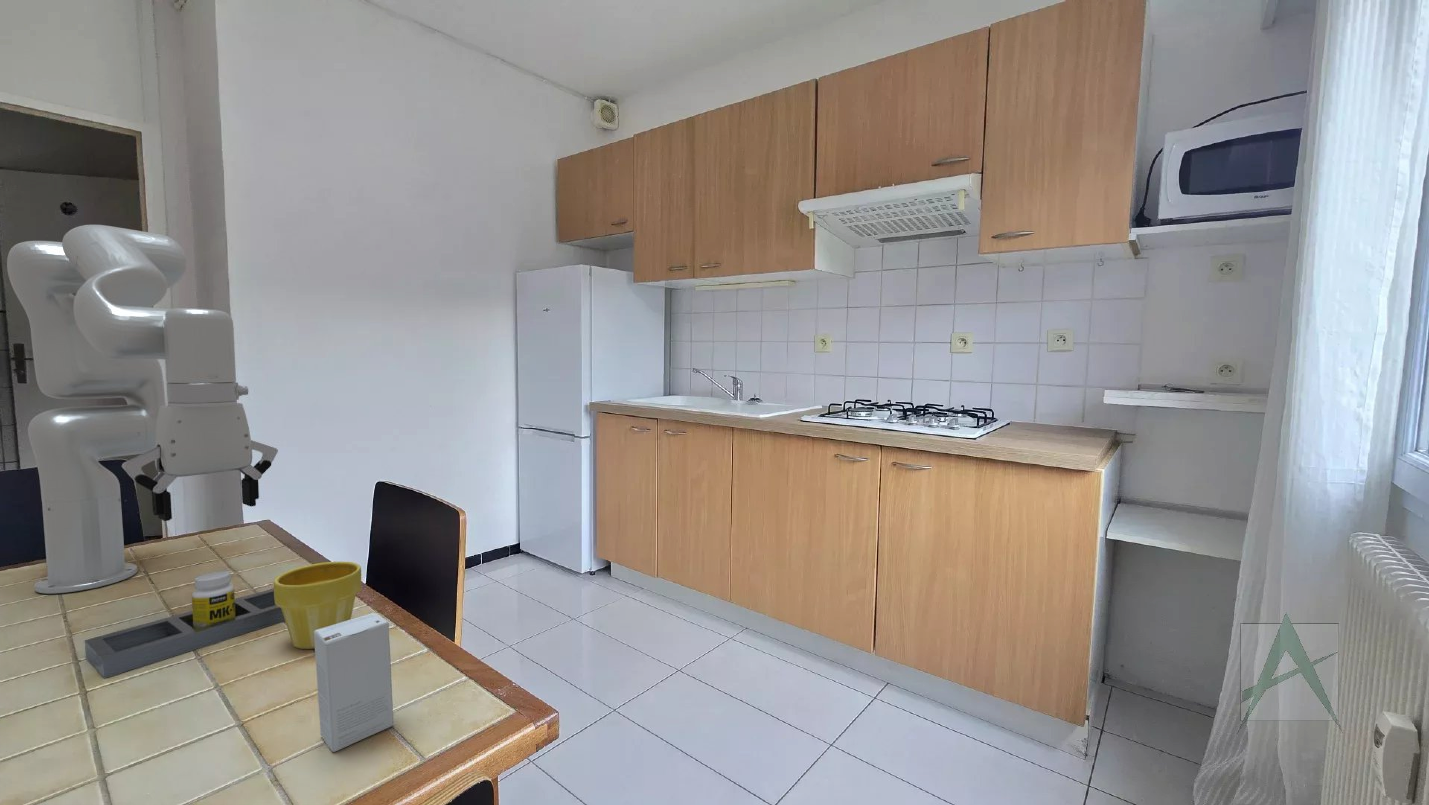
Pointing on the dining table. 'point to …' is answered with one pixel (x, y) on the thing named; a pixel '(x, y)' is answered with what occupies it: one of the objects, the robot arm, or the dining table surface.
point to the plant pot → (316, 598)
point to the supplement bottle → (213, 599)
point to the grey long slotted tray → (177, 635)
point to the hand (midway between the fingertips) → (209, 511)
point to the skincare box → (353, 680)
